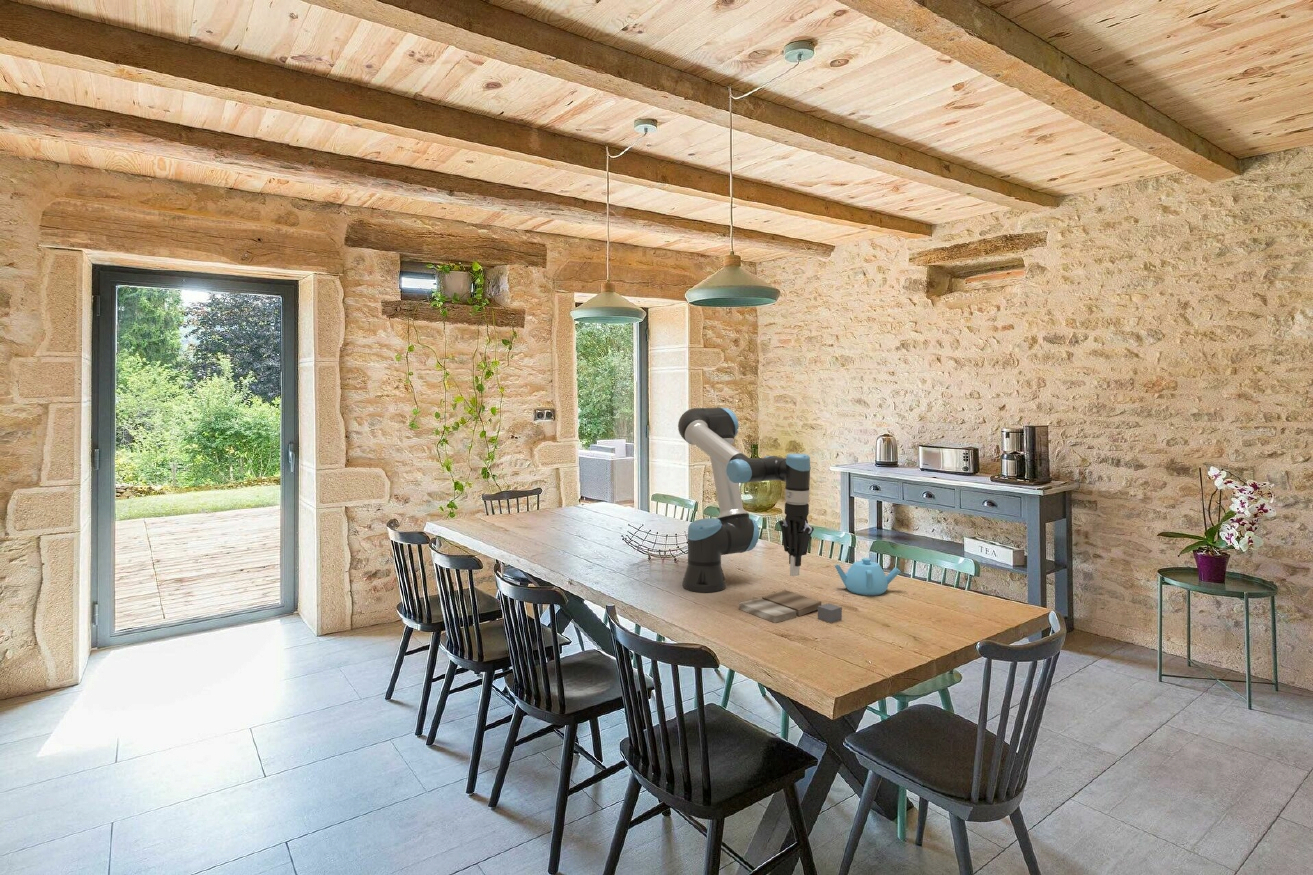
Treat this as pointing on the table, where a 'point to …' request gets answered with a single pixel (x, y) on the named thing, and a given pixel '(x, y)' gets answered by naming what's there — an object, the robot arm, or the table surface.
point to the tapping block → (829, 613)
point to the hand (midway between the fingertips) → (794, 575)
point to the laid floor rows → (767, 610)
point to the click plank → (794, 601)
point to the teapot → (866, 577)
